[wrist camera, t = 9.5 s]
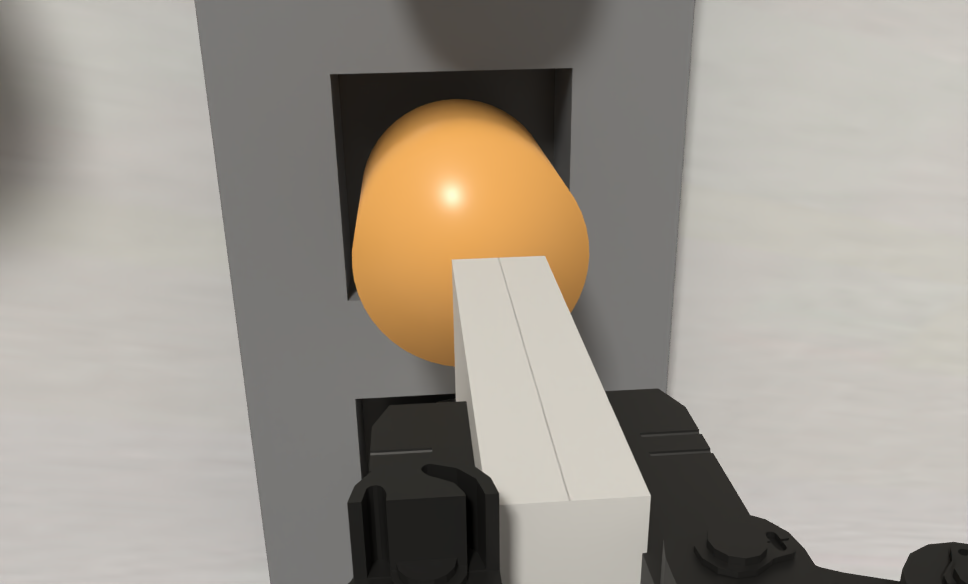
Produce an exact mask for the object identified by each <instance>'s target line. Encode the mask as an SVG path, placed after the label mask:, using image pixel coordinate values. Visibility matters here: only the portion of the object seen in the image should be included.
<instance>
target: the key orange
mask: <svg viewBox="0 0 968 584" xmlns="http://www.w3.org/2000/svg"><path fill="white" fill-rule="evenodd" d="M527 256H545V257H546V259H547V262H548V264H549V266H550V268H551V271H552V273H553V275H554V277H555V280H556V282H557V284H558V287H559V289H560V291H561V293H562V296H563V298H564V300H565V302H566V305H567V307H568V309H569V311H570V313H571V312H572V310H573V308H574V307H575V305H576V303H577V301H578V299H579V297H580V295H581V292H582V289H583V287H584V284H585V280H586V276H587V272H588V264H589V239H588V234H587V228H586V224H585V221H584V218H583V215H582V212H581V210H580V208H579V206H578V204H577V202H576V200H575V198H574V197H573V195H572V194H571V192H570V191H569V189H568V188H567V186H566V185H565V184H564V182H563V181H562V179H561V178H560V176H559V175H558V173H557V172H556V170H555V169H554V167H553V166H552V164H551V163H550V161H549V160H548V158H547V157H546V155H545V154H544V153H543V151H542V150H541V148H540V147H539V145H538V144H537V142H536V141H535V139H534V138H533V136H532V135H531V134H530V133H529V131H528V130H527V129H526V128H525V127H524V126H523V125H522V124H521V123H520V122H518V121H517V120H516V119H515V118H514V117H512V116H511V115H509V114H508V113H506V112H504V111H503V110H501V109H498V108H496V107H494V106H492V105H489V104H486V103H483V102H479V101H473V100H467V99H449V100H440V101H436V102H432V103H428V104H425V105H423V106H420V107H417V108H415V109H414V110H412V111H410V112H408V113H406V114H405V115H403V116H402V117H400V118H399V119H398V120H396V121H395V122H394V123H393V124H392V125H391V126H390V127H389V128H388V129H387V130H386V131H385V132H384V133H383V134H382V136H381V137H380V138H379V139H378V141H377V143H376V144H375V146H374V148H373V149H372V151H371V153H370V156H369V158H368V160H367V163H366V167H365V170H364V174H363V181H362V187H361V194H360V201H359V207H358V214H357V220H356V227H355V234H354V241H353V248H352V269H353V276H354V282H355V285H356V288H357V292H358V295H359V297H360V299H361V302H362V304H363V306H364V308H365V310H366V311H367V313H368V315H369V316H370V318H371V319H372V321H373V322H374V323H375V324H376V326H377V327H378V328H379V329H380V330H381V332H382V333H384V334H385V335H386V336H387V337H388V338H389V339H390V340H391V341H392V342H394V343H395V344H396V345H398V346H399V347H401V348H402V349H404V350H405V351H407V352H409V353H411V354H413V355H415V356H417V357H419V358H422V359H424V360H427V361H430V362H433V363H437V364H441V365H446V366H454V367H455V354H454V319H453V285H452V260H454V259H478V258H503V257H527Z"/></svg>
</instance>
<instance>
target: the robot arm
mask: <svg viewBox="0 0 968 584" xmlns="http://www.w3.org/2000/svg"><path fill="white" fill-rule="evenodd" d="M452 285H453V319H454V354H455V389H456V402H441V403H422V404H403V405H389V406H388V408H387V409H386V410H385V411H384V413H383V414H382V415H381V416H380V417H379V419H378V420H377V421H376V422H375V424H374V425H373V426H372V433H371V447H370V462H369V474H368V475H367V476H365V477H364V478H363V479H362V480H361V481H359V482H358V483H357V484H356V485H355V486H354V488H353V490H352V493H351V495H350V497H349V500H348V502H347V507H348V519H349V531H350V542H351V554H352V566H353V578H352V580H351V581H350V582H349V583H348V584H968V544H964V543H957V542H949V543H939V544H928V545H926V546H924V547H922V548H920V549H918V550H916V551H914V552H912V553H910V555H909V557H908V559H907V561H906V563H905V565H904V567H903V569H902V574H901V579H900V581H893V580H887V579H881V578H874V577H868V576H861V575H855V574H849V573H843V572H838V571H834V570H830V569H825V568H821V567H818V566H816V565H815V564H814V563H813V561H812V560H811V558H810V556H809V555H808V553H807V552H806V550H805V549H804V548H803V547H802V546H801V545H800V544H799V543H798V542H797V541H796V540H795V538H794V537H793V536H792V535H791V534H790V533H789V532H787V531H785V530H784V529H782V528H780V527H778V526H776V525H775V524H773V523H771V522H769V521H767V520H766V519H762V518H759V517H755V516H751V515H750V514H749V512H748V511H747V509H746V507H745V506H744V504H743V502H742V501H741V499H740V497H739V496H738V494H737V492H736V491H735V489H734V487H733V486H732V484H731V482H730V481H729V479H728V477H727V476H726V474H725V472H724V471H723V469H722V467H721V466H720V464H719V462H718V461H717V459H716V457H715V456H714V454H713V453H711V452H710V447H709V446H708V444H707V442H706V441H705V439H704V437H703V436H702V434H699V429H698V427H697V426H696V424H695V422H694V421H693V419H692V417H691V416H690V414H689V412H688V411H687V409H686V407H685V406H683V405H682V404H680V403H679V402H677V401H676V400H674V399H673V398H672V397H670V396H669V395H667V394H666V393H664V392H663V391H661V390H660V389H658V388H656V389H637V390H617V391H604V389H603V386H602V384H601V382H600V379H599V377H598V375H597V373H596V370H595V368H594V366H593V364H592V361H591V359H590V357H589V355H588V352H587V350H586V348H585V345H584V343H583V341H582V339H581V336H580V334H579V332H578V330H577V327H576V325H575V323H574V321H573V318H572V316H571V314H570V311H569V309H568V307H567V305H566V302H565V300H564V298H563V296H562V293H561V291H560V289H559V287H558V284H557V282H556V280H555V277H554V275H553V273H552V271H551V268H550V266H549V264H548V262H547V259H546V257H545V256H527V257H503V258H478V259H454V260H452Z"/></svg>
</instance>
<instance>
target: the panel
mask: <svg viewBox="0 0 968 584" xmlns="http://www.w3.org/2000/svg"><path fill="white" fill-rule="evenodd" d="M694 5H695V0H195V8H196V16H197V23H198V31H199V39H200V46H201V54H202V62H203V69H204V77H205V85H206V92H207V100H208V108H209V115H210V123H211V131H212V138H213V146H214V154H215V161H216V169H217V177H218V184H219V192H220V200H221V207H222V215H223V223H224V230H225V238H226V246H227V254H228V261H229V269H230V277H231V284H232V292H233V300H234V307H235V315H236V323H237V330H238V338H239V346H240V353H241V361H242V369H243V376H244V384H245V392H246V399H247V407H248V415H249V422H250V430H251V438H252V445H253V453H254V461H255V468H256V476H257V484H258V491H259V499H260V507H261V514H262V522H263V530H264V537H265V545H266V553H267V560H268V568H269V576H270V583H271V584H348V583H349V582H350V581H351V580H352V578H353V566H352V554H351V542H350V531H349V519H348V507H347V502H348V500H349V497H350V495H351V493H352V490H353V488H354V486H355V485H356V484H357V483H358V482H359V481H361V480H362V479H363V478H364V477H365V476H367V475H368V474H369V462H370V447H371V433H372V426H373V425H374V424H375V422H376V421H377V420H378V419H379V417H380V416H381V415H382V414H383V413H384V411H385V410H386V409H387V408H388V406H389V405H403V404H422V403H436V402H439V401H444V400H448V399H455V398H456V389H455V367H454V366H446V365H441V364H437V363H433V362H430V361H427V360H424V359H422V358H419V357H417V356H415V355H413V354H411V353H409V352H407V351H405V350H404V349H402V348H401V347H399V346H398V345H396V344H395V343H394V342H392V341H391V340H390V339H389V338H388V337H387V336H386V335H385V334H384V333H382V332H381V330H380V329H379V328H378V327H377V326H376V324H375V323H374V322H373V321H372V319H371V318H370V316H369V315H368V313H367V311H366V310H365V308H364V306H363V304H362V302H361V299H360V297H359V295H358V292H357V288H356V285H355V282H354V276H353V269H352V248H353V241H354V234H355V227H356V220H357V214H358V207H359V201H360V194H361V187H362V181H363V174H364V170H365V167H366V163H367V160H368V158H369V156H370V153H371V151H372V149H373V148H374V146H375V144H376V143H377V141H378V139H379V138H380V137H381V136H382V134H383V133H384V132H385V131H386V130H387V129H388V128H389V127H390V126H391V125H392V124H393V123H394V122H395V121H396V120H398V119H399V118H400V117H402V116H403V115H405V114H406V113H408V112H410V111H412V110H414V109H415V108H417V107H420V106H423V105H425V104H428V103H432V102H436V101H440V100H449V99H467V100H473V101H479V102H483V103H486V104H489V105H492V106H494V107H496V108H498V109H501V110H503V111H504V112H506V113H508V114H509V115H511V116H512V117H514V118H515V119H516V120H517V121H518V122H520V123H521V124H522V125H523V126H524V127H525V128H526V129H527V130H528V131H529V133H530V134H531V135H532V136H533V138H534V139H535V141H536V142H537V144H538V145H539V147H540V148H541V150H542V151H543V153H544V154H545V155H546V157H547V158H548V160H549V161H550V163H551V164H552V166H553V167H554V169H555V170H556V172H557V173H558V175H559V176H560V178H561V179H562V181H563V182H564V184H565V185H566V186H567V188H568V189H569V191H570V192H571V194H572V195H573V197H574V198H575V200H576V202H577V204H578V206H579V208H580V210H581V212H582V215H583V218H584V221H585V224H586V228H587V234H588V239H589V264H588V272H587V276H586V280H585V284H584V287H583V289H582V292H581V295H580V297H579V299H578V301H577V303H576V305H575V307H574V308H573V310H572V312H571V313H570V314H571V316H572V318H573V321H574V323H575V325H576V327H577V330H578V332H579V334H580V336H581V339H582V341H583V343H584V345H585V348H586V350H587V352H588V355H589V357H590V359H591V361H592V364H593V366H594V368H595V370H596V373H597V375H598V377H599V379H600V382H601V384H602V386H603V389H604V391H617V390H637V389H656V388H658V389H660V390H661V391H663V392H664V393H666V388H667V374H668V360H669V347H670V333H671V319H672V306H673V292H674V278H675V265H676V251H677V237H678V224H679V210H680V196H681V183H682V169H683V155H684V142H685V128H686V114H687V101H688V87H689V73H690V60H691V46H692V32H693V19H694Z"/></svg>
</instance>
